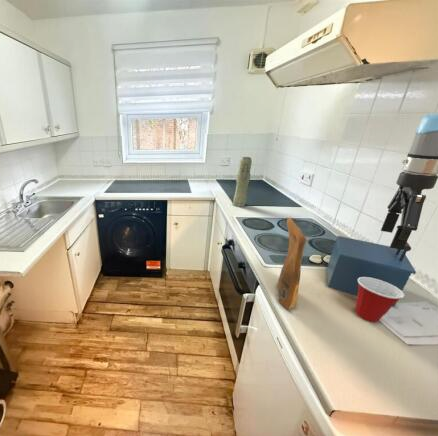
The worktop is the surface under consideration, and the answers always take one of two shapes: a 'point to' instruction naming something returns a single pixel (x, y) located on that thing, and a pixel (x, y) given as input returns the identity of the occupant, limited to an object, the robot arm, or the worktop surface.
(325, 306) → the worktop surface
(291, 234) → the pancake mix bag
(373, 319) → the plastic cup
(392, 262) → the lid
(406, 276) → the blue hollow box
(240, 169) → the olive green rough post
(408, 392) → the worktop surface
